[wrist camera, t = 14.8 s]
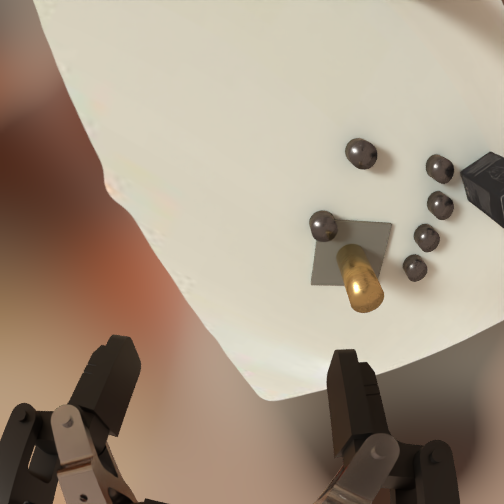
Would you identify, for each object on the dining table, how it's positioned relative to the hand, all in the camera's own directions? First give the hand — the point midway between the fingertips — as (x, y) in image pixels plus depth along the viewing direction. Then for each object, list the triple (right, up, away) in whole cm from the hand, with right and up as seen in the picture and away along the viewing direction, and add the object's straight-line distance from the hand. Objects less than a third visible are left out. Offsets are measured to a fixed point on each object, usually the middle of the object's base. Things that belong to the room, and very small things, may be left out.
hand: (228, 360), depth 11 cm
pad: (+16, +4, +32) cm, 36 cm away
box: (+37, +16, +23) cm, 46 cm away
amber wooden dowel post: (+15, +3, +31) cm, 35 cm away
